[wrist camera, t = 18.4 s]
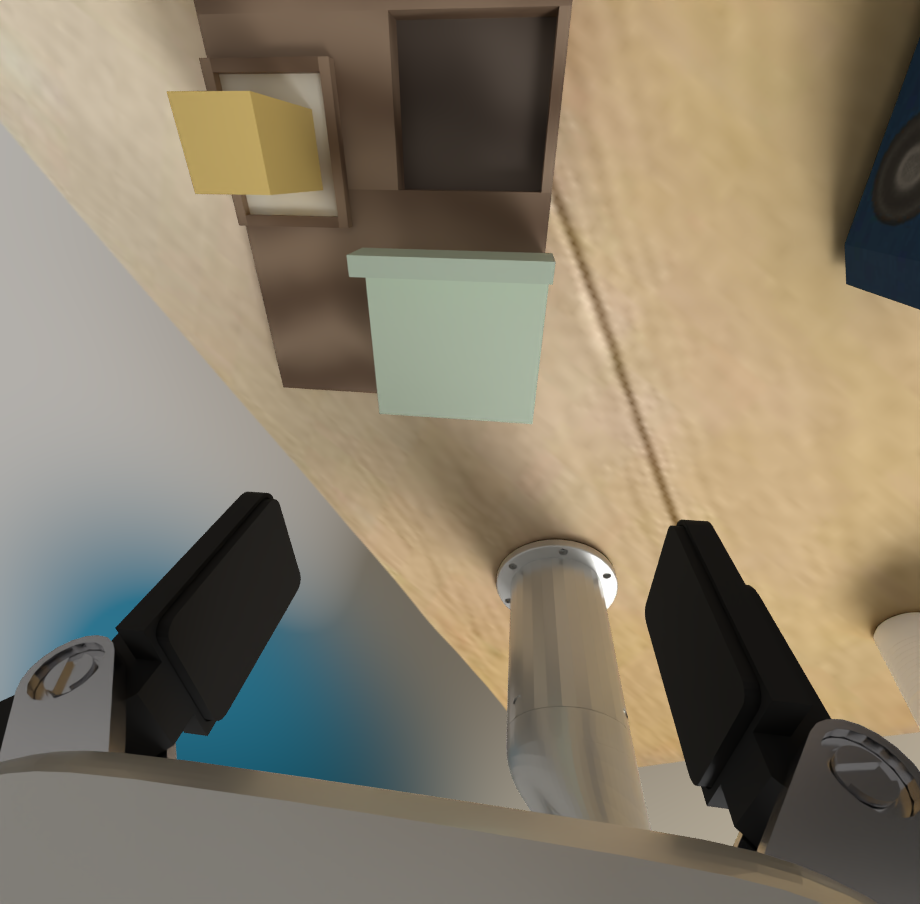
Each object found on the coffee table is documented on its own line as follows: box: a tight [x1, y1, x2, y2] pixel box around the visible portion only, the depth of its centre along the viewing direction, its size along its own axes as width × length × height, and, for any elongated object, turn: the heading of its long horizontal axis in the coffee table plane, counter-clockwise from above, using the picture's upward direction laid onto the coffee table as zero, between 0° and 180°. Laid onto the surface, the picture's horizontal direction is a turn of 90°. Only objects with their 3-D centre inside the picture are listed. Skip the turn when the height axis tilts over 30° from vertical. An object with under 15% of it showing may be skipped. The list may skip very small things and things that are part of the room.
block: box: [167, 91, 323, 195], centre depth 23 cm, size 4×4×7 cm
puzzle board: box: [194, 0, 572, 393], centre depth 28 cm, size 26×20×3 cm
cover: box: [346, 248, 555, 424], centre depth 27 cm, size 10×10×8 cm
